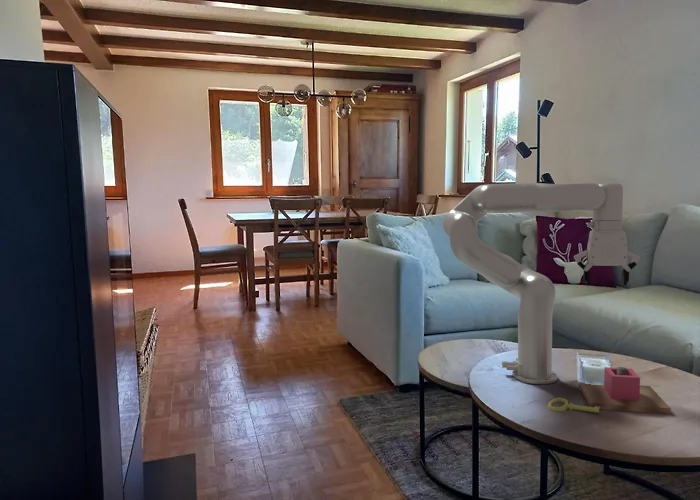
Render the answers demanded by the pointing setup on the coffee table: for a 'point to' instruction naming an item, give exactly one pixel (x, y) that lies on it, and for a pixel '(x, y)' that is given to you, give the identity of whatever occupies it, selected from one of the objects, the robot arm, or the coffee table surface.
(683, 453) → the coffee table surface
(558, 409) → the key
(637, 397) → the sleeve
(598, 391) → the bobbin stand
